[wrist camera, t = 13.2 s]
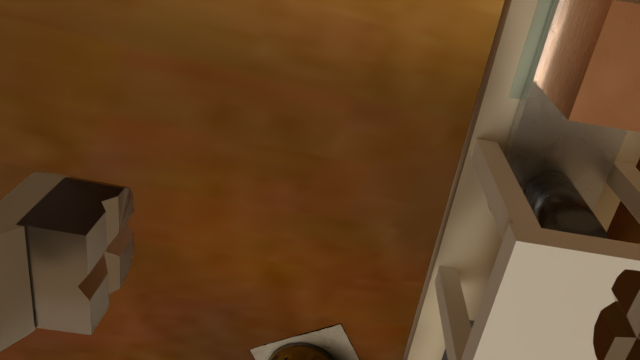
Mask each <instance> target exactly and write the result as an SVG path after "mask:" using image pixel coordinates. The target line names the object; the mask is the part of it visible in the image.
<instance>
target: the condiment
mask: <svg viewBox="0 0 640 360" xmlns="http://www.w3.org/2000/svg"><path fill="white" fill-rule="evenodd" d="M322 346H325V348H323V347H322ZM327 347H330V349H328V348H327ZM250 351H251V353H252V355H253V356H254V358H255V359H256V360H359V358H358V357H357V355H356V353H355V350H354V348H353V347H352V345H351V343H350V341H349V339H348V337H347V335H346V334H345V332H344V330H343V328H342V326H341V324H340V325H336V326H333V327H330V328H325V329H322V330H320V331H315V332H311V333H309V334H304V335H301V336H296V337H292V338H288V339H285V340H281V341H277V342H274V343H270V344H267V345H264V346H260V347H257V348H254V349H252V350H250Z"/></svg>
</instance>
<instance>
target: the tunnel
mask: <svg viewBox="0 0 640 360" xmlns="http://www.w3.org/2000/svg"><path fill="white" fill-rule="evenodd" d="M471 160H472V162H473V165H474V167H475V170H476V173H477V175H478V178H479V180H480V183H481V186H482V188H483V191H484V193H485V196H486V199H487V201H488V204H489V206H490V209H491V212H492V214H493V217H494V219H495V222H496V225H497V227H498V230H499V233H500V235H501V238H502V240H503V241H502V244H501V247H500V249H499V252H498V255H497V258H496V261H495V264H494V267H493V269H492V272H491V275H490V278H489V281H488V284H487V287H486V289H485V292H484V295H483V298H482V301H481V304H480V307H479V309H478V312H477V315H476V318H475V321H474V324H473V327H472V329H471V325H470V320H469V316H468V312H467V308H466V304H465V299H464V295H463V291H462V287H461V283H460V278H459V274H458V270H457V269H453V268H447V267H441V266H439V267H438V270H437V274H436V277H435V280H434V283H435V289H436V294H437V300H438V306H439V312H440V318H441V323H442V329H443V335H444V341H445V347H446V352H447V358H448V360H597V357H596V355H595V351H594V346H593V335H594V326H595V323H596V321H597V319H598V316H599V314H600V311H601V310H602V309H604V308H605V307H607V306H608V305H610V304H612V303H613V302H615V299H614V296H613V293H612V290H611V288H612V286H613V284H614V282H615V280H616V278H617V277H618V276H619V275H620V274H621V273H622V272H623V271H624V270H625V269H627V270H637V271H640V244H636V243H630V242H624V241H617V240H611V239H605V238H599V237H593V236H587V235H580V234H574V233H568V232H562V231H556V230H550V229H543V228H541V226H540V225H539V223H538V221H537V219H536V217H535V215H534V213H533V211H532V209H531V207H530V205H529V203H528V201H527V199H526V197H525V195H524V193H523V191H522V189H521V187H520V185H519V183H518V181H517V179H516V177H515V176H514V174H513V172H512V170H511V168H510V166H509V164H508V162H507V160H506V158H505V156H504V154H503V152H502V150H501V148H500V146H499V144H498V142H495V141H489V140H482V139H476V141H475V145H474V148H473V152H472V155H471ZM606 183H607V184H608V185H609V187H610V188H611V189H612V190H613V192H614V193H615V194H616V195H617V197H618V198H619V199H620V200H621V202H622V203H623V204H624V205H625V207H626V208H627V209H628V210H629V212H630V213H631V214H632V215H633V216H634V218H635V219H636V220H637V221H638V223H639V224H640V172H639V170H638V169H637V168H636V167H635V166H634V165H633V164H630V163H624V162H618V161H615V162H614V164H613V167H612V169H611V172H610V174H609V176H608V179H607V181H606Z"/></svg>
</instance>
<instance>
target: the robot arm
mask: <svg viewBox="0 0 640 360" xmlns="http://www.w3.org/2000/svg"><path fill="white" fill-rule="evenodd" d="M133 212H134V205H133V193H132V191H131V189H130V187H125V186H120V185H114V184H109V183H103V182H98V181H92V180H87V179H82V178H76V177H69V176H67V175H61V174H54V173H47V172H33V173H32V174H31V175H30V176H28V177H27V178H26V179H25V180H24V181H23V182H21V183H20V184H19V185H18V186H17V187H15V188H14V189H13V190H12V191H11V192H10V193H8V194H7V195H6V196H5V197H4V198H3V199H1V200H0V351H2V350H4V349H5V348H7V347H9V346H10V345H12V344H14V343H15V342H17V341H19V340H20V339H22V338H23V337H25V336H27V335H28V334H30V333H32V332H33V331H35V328H43V329H50V330H58V331H65V332H72V333H80V334H87V335H91V334H92V333H93V331H94V330H95V328H96V326H97V325H98V323H99V322H100V320H101V318H102V317H103V315H104V313H105V312H106V310H107V309H108V307H109V294H110V293H112V292H114V291H116V290H118V289H120V287H121V286H122V284H123V282H124V280H125V279H126V277H127V274H128V271H129V268H130V265H131V262H132V256H133V249H134V234H133V232H132V231H131V230H130V228H129V227H128V225H127V224H126V222H127V220H128V219H129V217H130V216H131V215H132V213H133ZM611 290H612V293H613V296H614V299H615V302H613V303H612V304H610V305H608V306H607V307H605V308H604V309H602V310H601V311H600V314H599V316H598V319H597V321H596V323H595V326H594V335H593V346H594V351H595V355H596V357H597V360H640V271H637V270H627V269H625V270H624V271H623V272H622V273H621V274H620V275H619V276H618V277H617V278H616V280H615V282H614V284H613V286H612V288H611Z"/></svg>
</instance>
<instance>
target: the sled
mask: <svg viewBox="0 0 640 360" xmlns="http://www.w3.org/2000/svg"><path fill="white" fill-rule="evenodd" d="M628 130H630V131H636V132H640V0H553V2H552V5H551V9H550V12H549V15H548V18H547V21H546V24H545V27H544V30H543V33H542V36H541V39H540V43H539V46H538V49H537V52H536V55H535V58H534V61H533V64H532V67H531V70H530V73H529V77H528V80H527V83H526V86H525V89H524V92H523V95H522V98H521V101H520V104H519V107H518V111H517V114H516V117H515V120H514V123H513V126H512V129H511V132H510V135H509V138H508V141H507V145H506V148H505V151H504V156H505V158H506V160H507V162H508V164H509V166H510V168H511V170H512V172H513V174H514V176H515V177H516V179H517V181H518V183H519V185H520V187H521V189H522V191H523V193H524V195H525V197H526V199H527V201H528V203H529V205H530V207H531V209H532V211H533V213H534V215H535V217H536V219H537V221H538V223H539V225H540V226H541V228H543V229H550V230H556V231H562V232H568V233H574V234H580V235H587V236H593V237H599V238H605V239H608V235H607V232H606V230H605V229H604V227H603V226H602V225H601V223H600V222H599V220H598V219H597V217H596V216H595V214H594V213H593V211H594V209H595V207H596V204H597V202H598V200H599V197H600V195H601V193H602V190H603V188H604V186H605V183H606V181H607V179H608V176H609V174H610V172H611V169H612V167H613V164H614V162H615V160H616V157H617V155H618V153H619V150H620V148H621V146H622V143H623V141H624V139H625V136H626V134H627V132H628ZM487 204H488V203H487ZM488 207H489V209H490V206H489V204H488ZM490 211H491V209H490Z"/></svg>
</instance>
